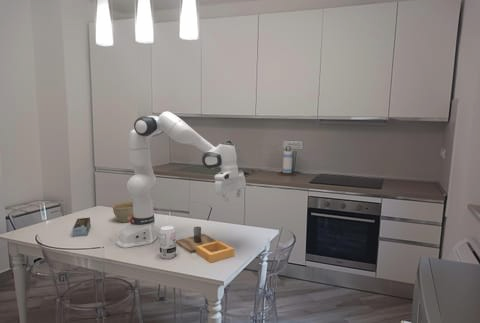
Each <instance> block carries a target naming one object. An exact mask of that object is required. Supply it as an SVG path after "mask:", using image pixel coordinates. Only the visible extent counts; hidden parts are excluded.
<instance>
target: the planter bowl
mask: <svg viewBox="0 0 480 323" xmlns="http://www.w3.org/2000/svg"><path fill="white" fill-rule="evenodd" d="M112 212H113V213H114V214H113V215H114V217H116V219H117V220H118V222H120V223H129V222H130V221H129V220H128V219H127V218H128V217H131V218H132V217H133V202H132V201H126V202H125V201H123V202H118V203H115V204H113V205H112Z"/></svg>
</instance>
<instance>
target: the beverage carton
mask: <svg viewBox="0 0 480 323" xmlns="http://www.w3.org/2000/svg"><path fill="white" fill-rule="evenodd" d="M91 226H92V225H91V217H82V218H76V221H75V223H74V224H73V228H72V236H73V238H79V237H80V238H81V237H87V236H88V234H89V232H90V229H91Z"/></svg>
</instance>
